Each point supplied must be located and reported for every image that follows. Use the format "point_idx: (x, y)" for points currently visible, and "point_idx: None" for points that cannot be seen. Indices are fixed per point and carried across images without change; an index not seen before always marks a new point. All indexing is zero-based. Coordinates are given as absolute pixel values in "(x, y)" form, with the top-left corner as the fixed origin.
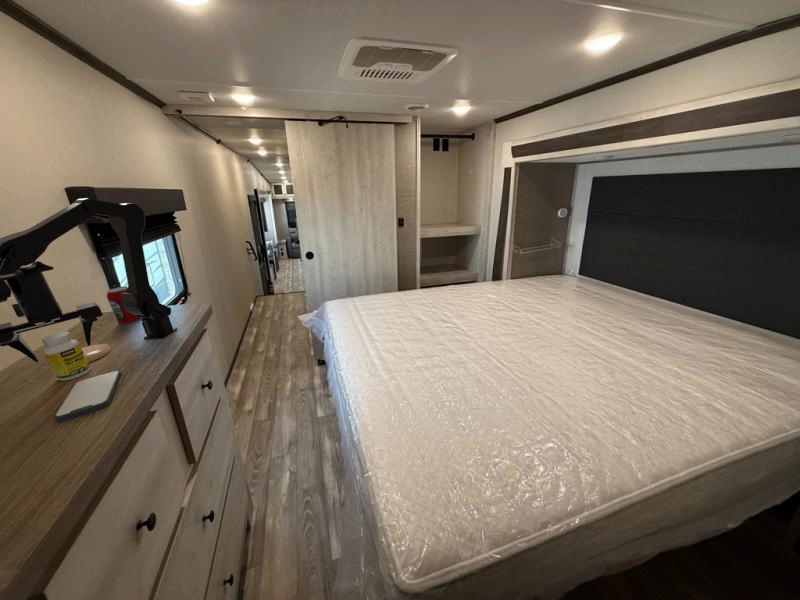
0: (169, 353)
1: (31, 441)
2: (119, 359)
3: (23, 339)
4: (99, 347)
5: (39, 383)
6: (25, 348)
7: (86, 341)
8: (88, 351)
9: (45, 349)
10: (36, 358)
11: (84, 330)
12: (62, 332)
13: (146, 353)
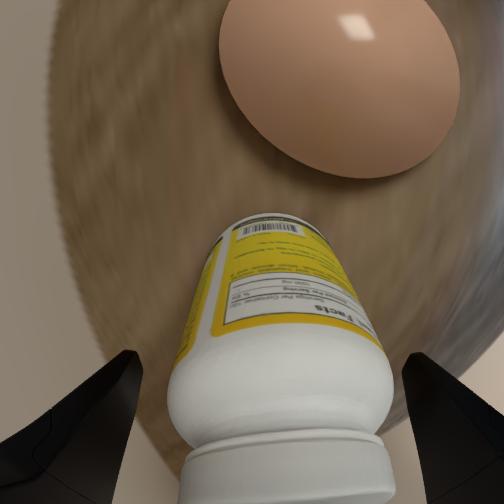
0: (470, 358)
1: (183, 457)
2: (422, 278)
3: (28, 481)
4: (424, 44)
5: (141, 224)
6: (106, 493)
7: (408, 411)
8: (377, 36)
9: (188, 442)
10: (137, 400)
11: (428, 496)
12: (365, 499)
13: (469, 309)
